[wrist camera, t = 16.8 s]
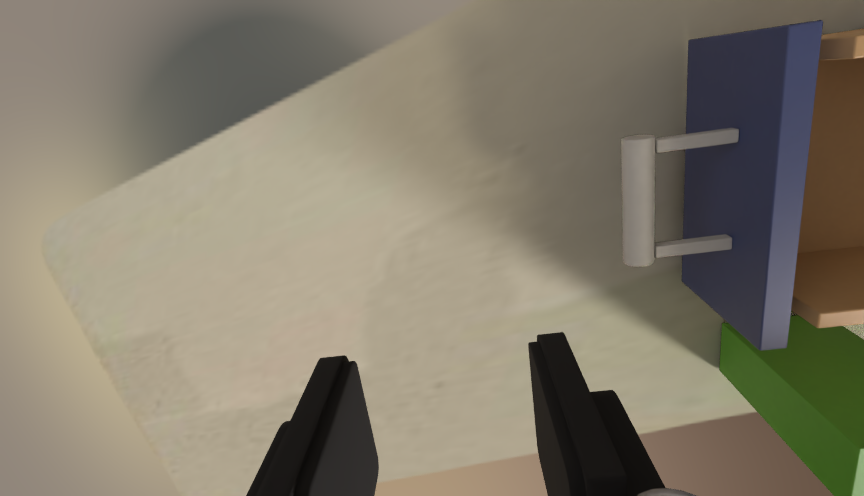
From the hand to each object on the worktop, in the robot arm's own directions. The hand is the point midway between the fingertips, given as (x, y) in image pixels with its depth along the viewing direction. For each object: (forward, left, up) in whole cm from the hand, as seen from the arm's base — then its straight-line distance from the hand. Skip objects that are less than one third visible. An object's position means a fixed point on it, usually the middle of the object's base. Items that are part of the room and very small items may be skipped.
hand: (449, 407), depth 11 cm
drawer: (0, +17, -18) cm, 25 cm away
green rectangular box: (+12, +19, -19) cm, 30 cm away
